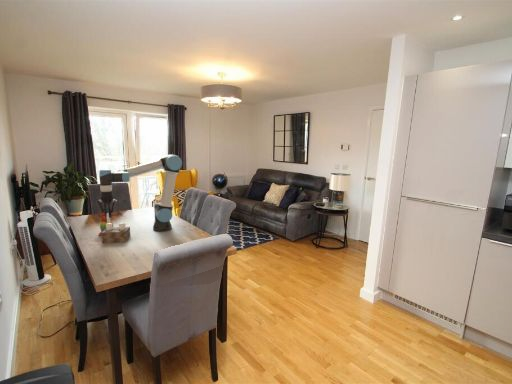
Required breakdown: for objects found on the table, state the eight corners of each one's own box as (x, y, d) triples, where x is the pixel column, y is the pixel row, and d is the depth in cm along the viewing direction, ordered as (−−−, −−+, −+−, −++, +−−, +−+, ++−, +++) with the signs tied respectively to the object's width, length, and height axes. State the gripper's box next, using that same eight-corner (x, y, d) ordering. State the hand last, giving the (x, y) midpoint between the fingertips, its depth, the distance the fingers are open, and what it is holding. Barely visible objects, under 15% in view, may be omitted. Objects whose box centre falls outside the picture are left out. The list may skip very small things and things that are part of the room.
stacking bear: (97, 236, 205) (95, 214, 202) (101, 232, 215) (99, 211, 212) (113, 235, 208) (111, 213, 205) (116, 231, 218) (114, 210, 215)
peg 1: (113, 232, 200) (112, 222, 198) (111, 234, 196) (111, 224, 194) (108, 232, 199) (107, 222, 198) (105, 234, 195) (105, 224, 194)
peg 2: (126, 232, 201) (125, 222, 200) (124, 233, 197) (124, 223, 196) (120, 232, 200) (120, 222, 199) (119, 233, 196) (118, 224, 195)
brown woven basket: (130, 236, 206) (129, 226, 205) (125, 242, 194) (124, 231, 193) (108, 237, 203) (107, 227, 202) (102, 243, 192) (101, 232, 190)
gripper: (117, 189, 196) (119, 220, 200) (98, 190, 194) (101, 220, 198) (114, 191, 189) (116, 223, 193) (94, 191, 187) (97, 223, 191)
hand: (108, 222), depth 196 cm, fingers closed
